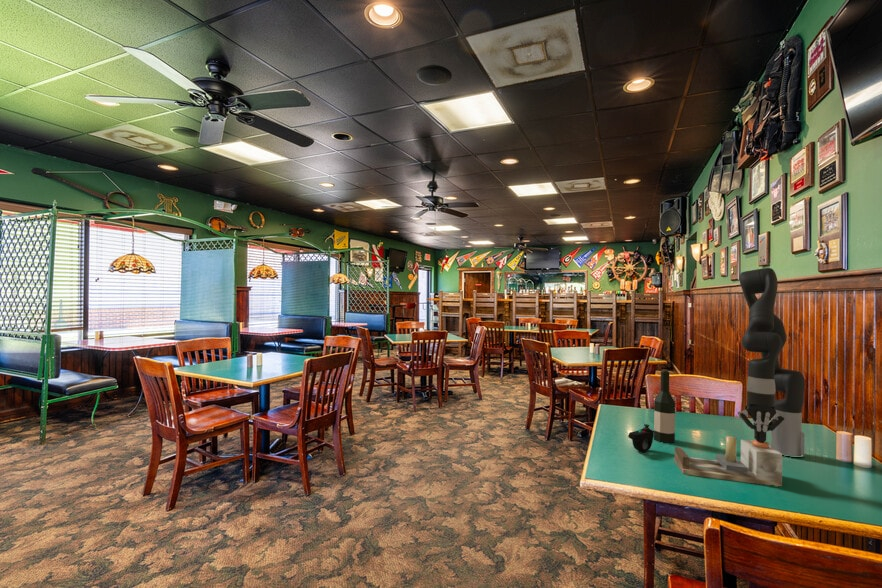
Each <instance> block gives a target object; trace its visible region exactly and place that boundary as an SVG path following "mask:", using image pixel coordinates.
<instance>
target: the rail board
mask: <svg viewBox="0 0 882 588" xmlns="http://www.w3.org/2000/svg"><path fill="white" fill-rule="evenodd" d="M752 440H753V439H752ZM752 440H751V439H740V461H741V462H742V463H743V464H744V465H745V466H746V467H747V468H748V473H747V472H739V471H731V470H726V469H725V468H724V467H723V466H722V465H721V464H720V463H719V462H718V461H717V460H716V459H708V458H700V457H691V456H688V454H687V453H686V452H685V450H684V449H683V448H682V447H679V446H675V447H674V457H673V462H674V463H675V464H676V466H677V467H678V469H679V470H680V472H681V473H682V474H683V475H685V476H686V475H688V476H695V477H703V478H711V479H717V480H724V481H725V480H727V481H731V482H740V483H750V484H755V483H756V484H758V485H763V484H765V485H764V486H770V485H775V486H774V487H778V486H782V487H783V456H782V454H781V453H780V452H778V451H777V450H775V449H774V448H773V447H771V444H769V448H767V449H765V448H759V447H755V446H753V445H752Z"/></svg>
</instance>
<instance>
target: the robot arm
mask: <svg viewBox="0 0 882 588" xmlns="http://www.w3.org/2000/svg"><path fill="white" fill-rule="evenodd" d="M738 278H739V284H740V287H741V290H742V293H743V295H744V298H745V301H746V304H747V306H748V307H747V308H748V325H747V328H746V330H745V332H744V334H743V336H742V339H741V345H742V347H743V348H744V350H745V351H747V352H750V353H760V355H761V358H755V359H749V360H748V363H747V365H748V366H747V381H746V406H745V407H744V410H742V411H737V415H738V416H739V418H741V420H742V421H743V422H744V423H745V424H746V425H747V427H748V428H750V429H751V430H753V431H754V433H753V434H754V436H753V437H754V440H756V441H758V442H759V443H764V441H765V442H767V432H770V446H771V447H773V448H774V449H775V450H777V451H778V452H780V453H781V454H782V455H789V456H801V455H803V456H804V457H805V432H804V431H802V430H803V426H802V424H803V422H802V421H803V419H802V418H803V416H802V415H803V414H802V413H803V407H804V404H805V403H804V401H805V388H806V380H805V379H806V378H805V376H804V374H803V373H802V372H800V371H798V370H793V369H787V368H782V367H781V366H780V362H779V356H780V353H781V352H782V350H783V348H784V347H785V344H787V343H786V342H787V338H788V337H787V333H786V329H785V325H784V323H783V321H782V320H781V318H780V317H779V316H777V315H776V314H775V313H774V310H775V309H774V307H775V303H776V298H777V293H778V277H777V274H776V272H775V270H774V269H773V268H771V267H764V268H756V269H752V270H751V269H750V270H746V271H745V270H744V271H742V272H741V273H740V274H739V277H738ZM757 294H761V295H760V297H757ZM776 392H781V393H785V398H781V399H776ZM748 417H750V418H751V419H752V421H751V420H750V418H748Z"/></svg>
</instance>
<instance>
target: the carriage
mask: <svg viewBox="0 0 882 588" xmlns="http://www.w3.org/2000/svg"><path fill="white" fill-rule="evenodd" d="M737 443H738V442H737V437H735V436H732V435H726V436H725V454H717V453H716V454H715V455H714V456H715V459H714V460H717V461H718V462H719V463H720V464H721V465H722V466H723V467H724V468H725V469H726V470H731V471H739V472H747V473H748V468H747V467H746V466H745V465H744V464H743V463H742V462H741V460H740V459H738V458H737Z"/></svg>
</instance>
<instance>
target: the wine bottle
mask: <svg viewBox="0 0 882 588" xmlns="http://www.w3.org/2000/svg"><path fill="white" fill-rule="evenodd" d="M653 404H654V405H653V407H654V409H653V410H654V413H653V415H654V416H653V420H654V421H653V426H654V427H653V431H654V436H653V440H654V441H655V440H656V441H655V442H658V441H659V442H658V443H660V442H663V443H662V444H666V443H673V444H675V442H676V400H675V399H674V397H673V396H672V393H670V371H669V370H668V369H664V368H663V369H661V370H660V391H659V392H658V393H657V395H656V396H655V397H654V403H653Z"/></svg>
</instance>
